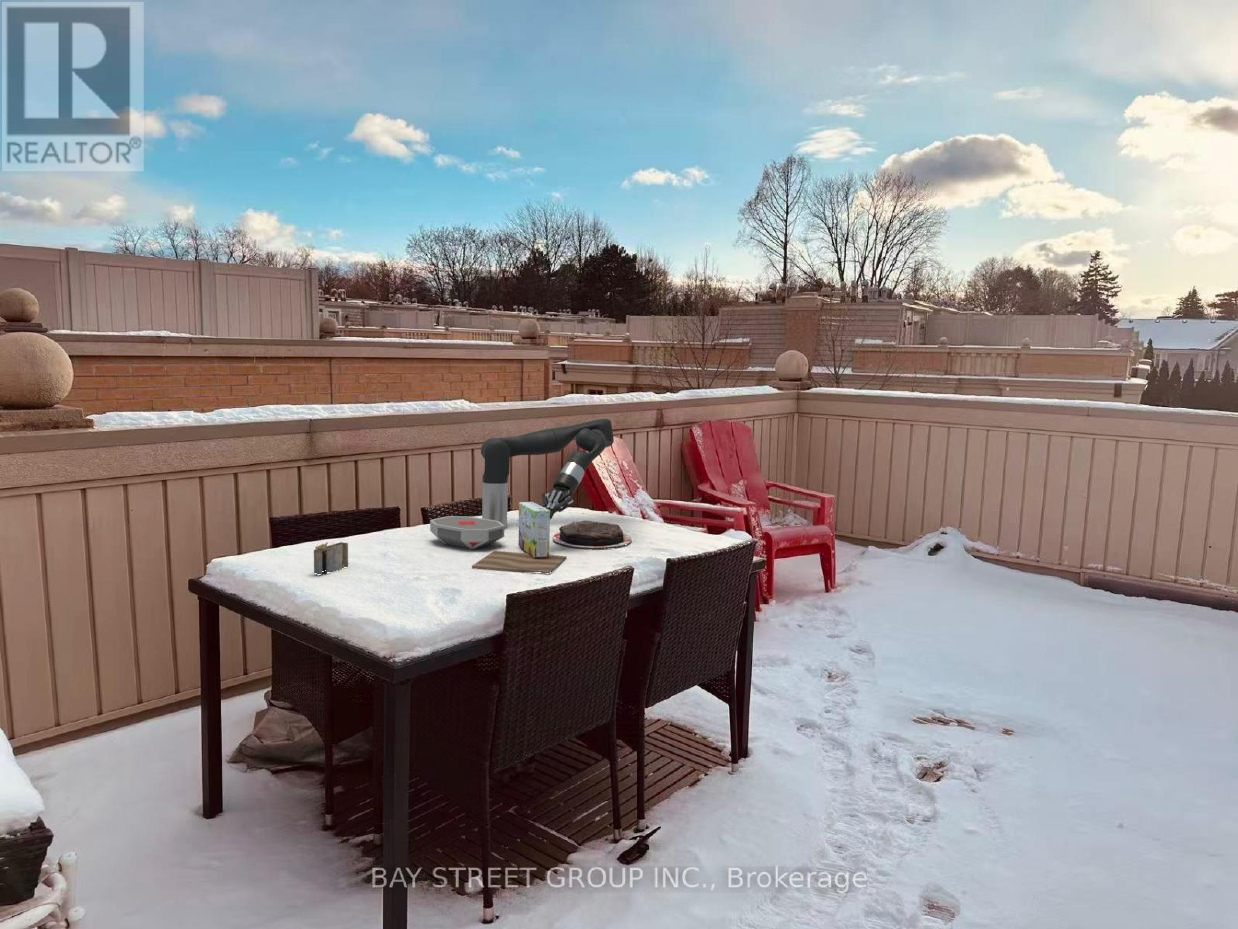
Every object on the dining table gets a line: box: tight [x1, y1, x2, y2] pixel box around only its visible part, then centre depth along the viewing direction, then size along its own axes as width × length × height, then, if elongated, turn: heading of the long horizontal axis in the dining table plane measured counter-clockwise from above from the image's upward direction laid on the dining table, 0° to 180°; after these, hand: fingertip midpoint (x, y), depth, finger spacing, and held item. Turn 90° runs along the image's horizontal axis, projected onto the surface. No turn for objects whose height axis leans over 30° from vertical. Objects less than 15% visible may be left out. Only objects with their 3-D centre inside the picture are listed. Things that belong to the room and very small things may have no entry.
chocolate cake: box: [551, 520, 632, 550], centre depth 279 cm, size 28×28×7 cm
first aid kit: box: [429, 515, 505, 550], centre depth 268 cm, size 18×8×25 cm
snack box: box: [518, 501, 551, 558], centre depth 257 cm, size 21×6×15 cm, turn 21°
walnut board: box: [471, 550, 567, 573], centre depth 245 cm, size 20×24×1 cm
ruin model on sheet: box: [313, 541, 349, 576], centre depth 229 cm, size 11×3×10 cm, turn 160°
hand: (545, 519), depth 260 cm, fingers closed
